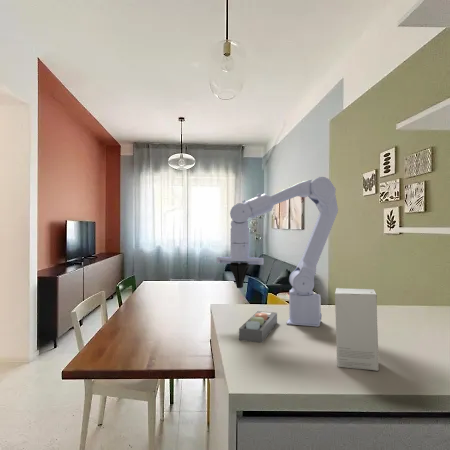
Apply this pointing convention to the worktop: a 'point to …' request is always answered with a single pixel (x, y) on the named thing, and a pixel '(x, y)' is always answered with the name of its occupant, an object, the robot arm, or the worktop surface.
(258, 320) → the sage button
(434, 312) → the worktop surface
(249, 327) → the blue button
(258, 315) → the terracotta button
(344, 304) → the skincare box
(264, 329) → the console
